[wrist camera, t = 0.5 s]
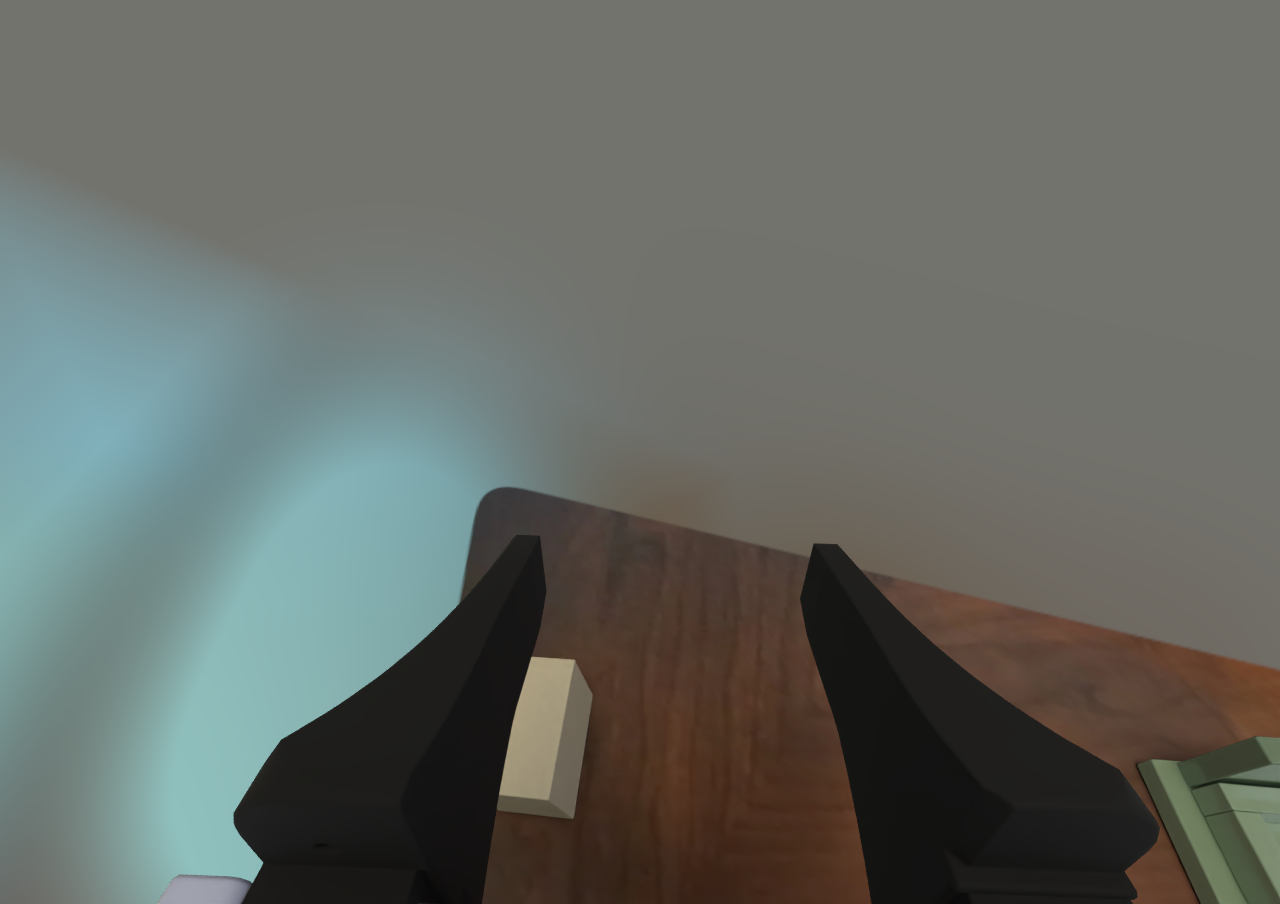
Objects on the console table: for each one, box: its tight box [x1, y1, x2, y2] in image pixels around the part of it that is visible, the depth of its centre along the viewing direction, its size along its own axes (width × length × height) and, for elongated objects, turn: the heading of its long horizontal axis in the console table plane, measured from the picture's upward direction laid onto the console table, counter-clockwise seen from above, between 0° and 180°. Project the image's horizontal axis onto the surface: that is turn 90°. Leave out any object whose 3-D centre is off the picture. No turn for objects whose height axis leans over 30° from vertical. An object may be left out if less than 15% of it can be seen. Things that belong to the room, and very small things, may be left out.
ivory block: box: [497, 657, 593, 819], centre depth 27 cm, size 6×4×6 cm, turn 174°
